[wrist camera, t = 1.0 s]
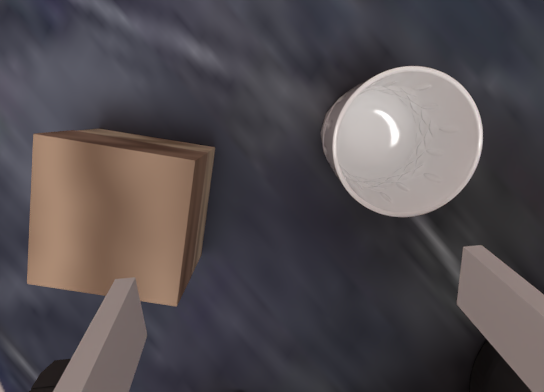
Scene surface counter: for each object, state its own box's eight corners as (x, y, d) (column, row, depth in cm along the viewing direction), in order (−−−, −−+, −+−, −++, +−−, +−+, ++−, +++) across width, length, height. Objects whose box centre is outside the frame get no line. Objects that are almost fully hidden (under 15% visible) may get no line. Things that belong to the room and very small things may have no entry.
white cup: (329, 69, 30) (358, 47, 20) (429, 96, 30) (506, 88, 20) (301, 170, 31) (314, 197, 21) (396, 195, 32) (453, 232, 22)
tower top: (207, 152, 27) (195, 160, 22) (191, 276, 28) (176, 306, 24) (73, 130, 26) (33, 133, 22) (65, 256, 28) (27, 283, 24)
